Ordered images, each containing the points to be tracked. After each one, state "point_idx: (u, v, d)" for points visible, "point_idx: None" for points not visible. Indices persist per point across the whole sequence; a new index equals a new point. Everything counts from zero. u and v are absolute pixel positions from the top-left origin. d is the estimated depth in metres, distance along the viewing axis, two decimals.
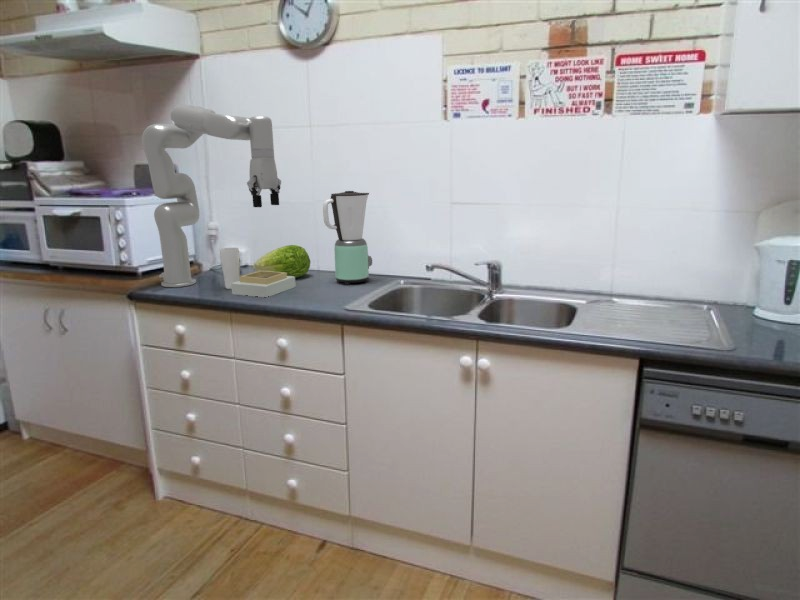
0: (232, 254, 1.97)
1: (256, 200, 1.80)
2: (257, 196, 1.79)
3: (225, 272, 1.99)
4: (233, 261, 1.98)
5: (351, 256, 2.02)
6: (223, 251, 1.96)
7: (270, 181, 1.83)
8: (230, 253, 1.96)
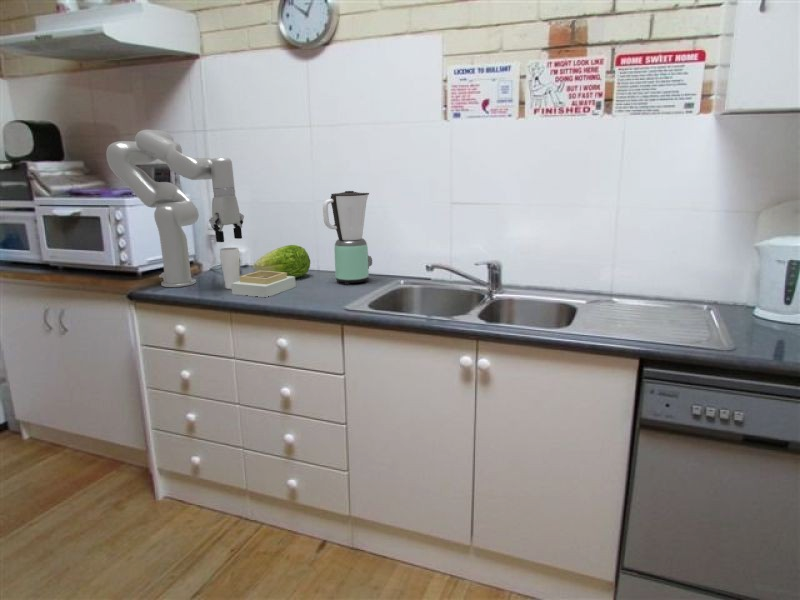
0: (232, 254, 1.97)
1: (218, 236, 1.92)
2: (219, 232, 1.92)
3: (225, 272, 1.99)
4: (233, 261, 1.98)
5: (351, 256, 2.02)
6: (223, 251, 1.96)
7: (232, 217, 1.95)
8: (230, 253, 1.96)
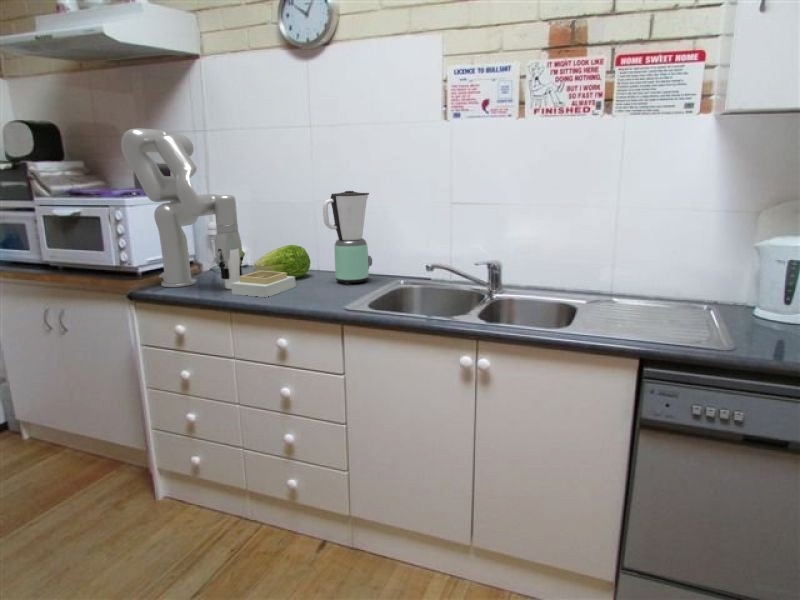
0: (232, 254, 1.97)
1: (224, 273, 1.97)
2: (225, 269, 1.97)
3: None
4: (233, 261, 1.98)
5: (351, 256, 2.02)
6: None
7: None
8: (230, 252, 1.96)
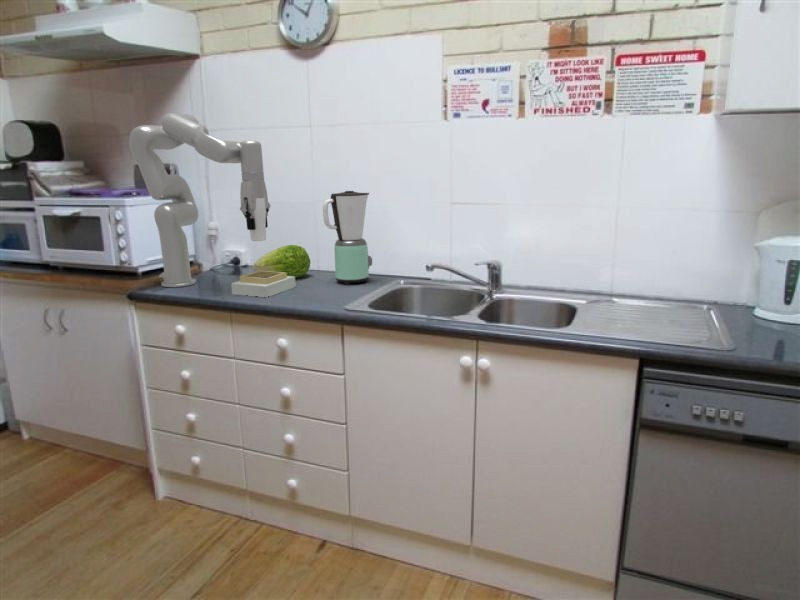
0: (258, 203, 1.88)
1: (250, 223, 1.88)
2: (251, 219, 1.88)
3: None
4: (259, 211, 1.89)
5: (351, 256, 2.02)
6: None
7: None
8: (256, 201, 1.88)
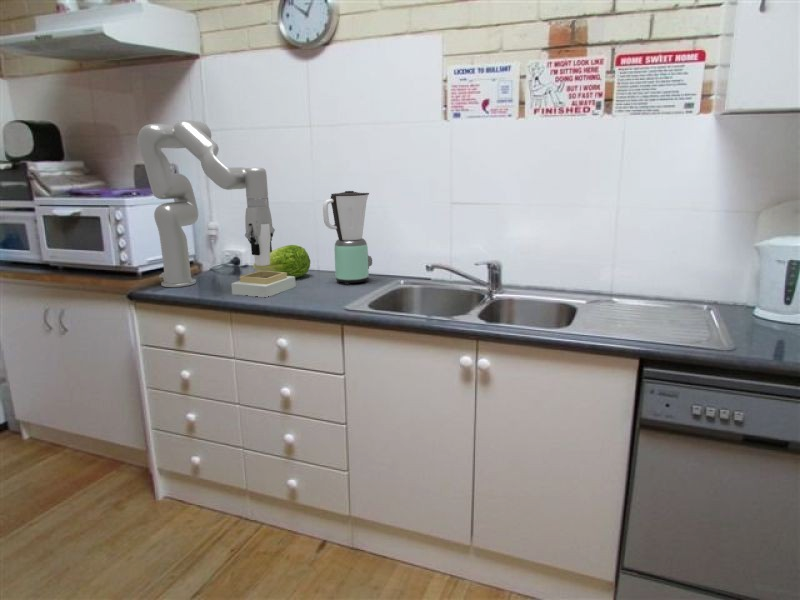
0: (263, 229, 1.90)
1: (254, 249, 1.90)
2: (255, 245, 1.90)
3: None
4: (264, 236, 1.91)
5: (351, 256, 2.02)
6: None
7: None
8: (261, 227, 1.89)
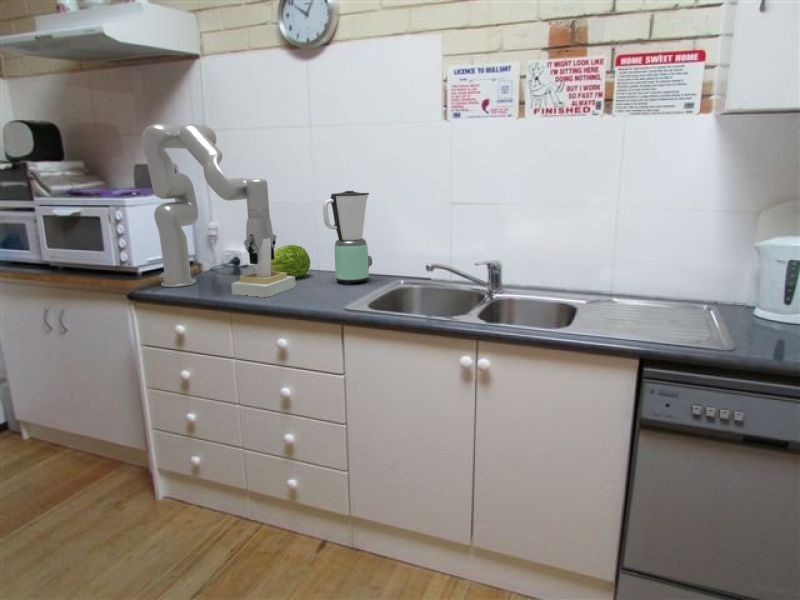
0: (264, 244, 1.92)
1: (252, 257, 1.90)
2: (253, 254, 1.90)
3: None
4: (265, 251, 1.92)
5: (351, 256, 2.02)
6: None
7: None
8: (262, 242, 1.91)
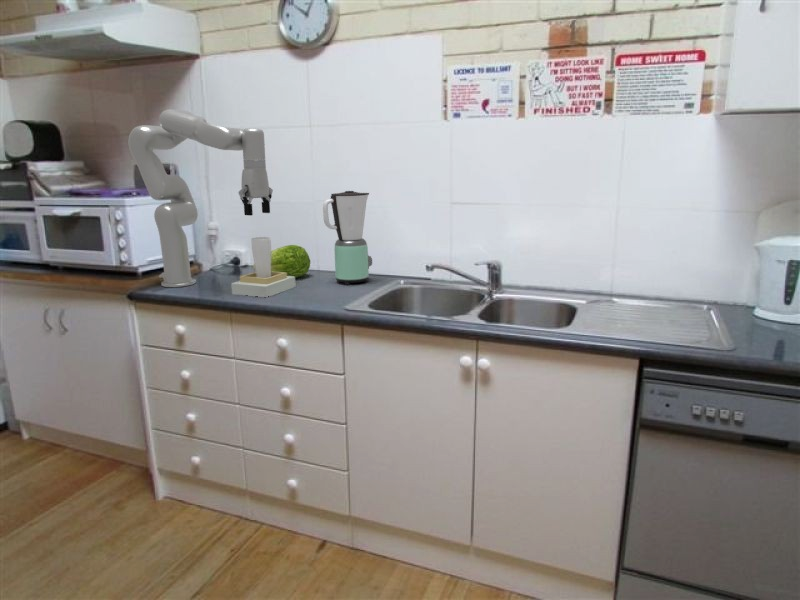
0: (264, 244, 1.92)
1: (247, 208, 1.88)
2: (248, 205, 1.87)
3: (257, 262, 1.94)
4: (265, 251, 1.93)
5: (351, 256, 2.02)
6: (255, 240, 1.91)
7: (261, 190, 1.90)
8: (262, 242, 1.91)
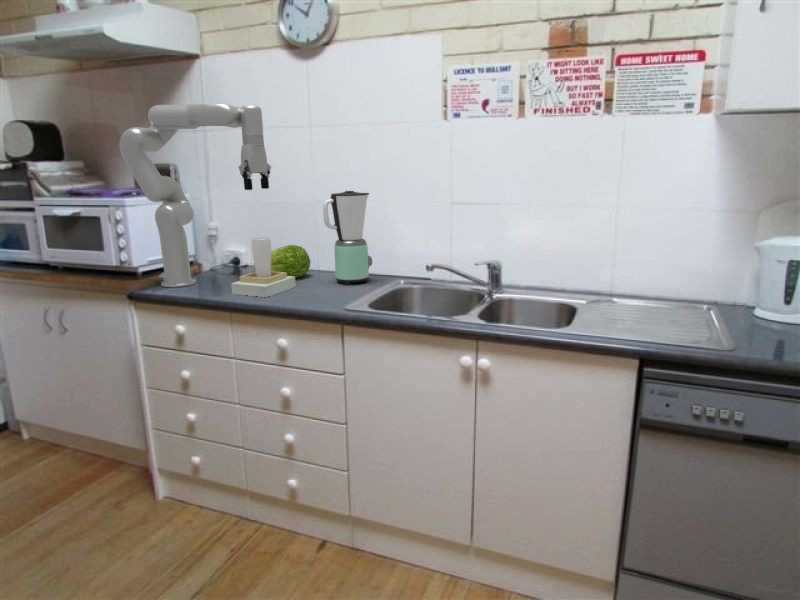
0: (264, 244, 1.92)
1: (247, 183, 1.94)
2: (248, 179, 1.94)
3: (257, 262, 1.94)
4: (265, 251, 1.93)
5: (351, 256, 2.02)
6: (255, 240, 1.91)
7: (260, 166, 1.97)
8: (262, 242, 1.91)
